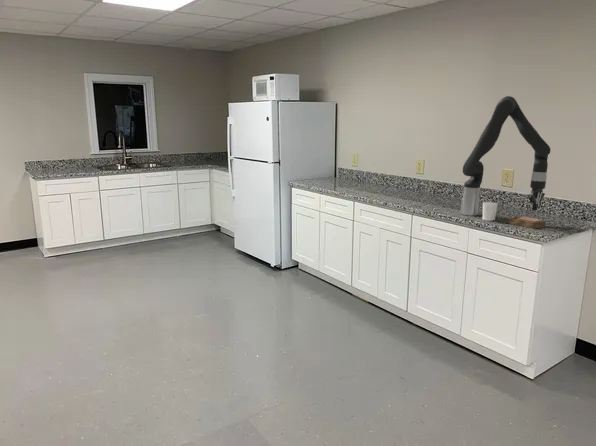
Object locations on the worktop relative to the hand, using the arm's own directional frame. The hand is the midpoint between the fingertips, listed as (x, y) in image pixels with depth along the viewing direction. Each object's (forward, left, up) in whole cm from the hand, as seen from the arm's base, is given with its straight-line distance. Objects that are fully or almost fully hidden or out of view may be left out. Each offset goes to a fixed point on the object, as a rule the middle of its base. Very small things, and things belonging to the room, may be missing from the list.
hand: (534, 210), depth 262 cm
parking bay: (0, -6, -8) cm, 10 cm away
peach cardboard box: (+1, -5, -8) cm, 10 cm away
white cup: (-20, -13, -8) cm, 25 cm away
